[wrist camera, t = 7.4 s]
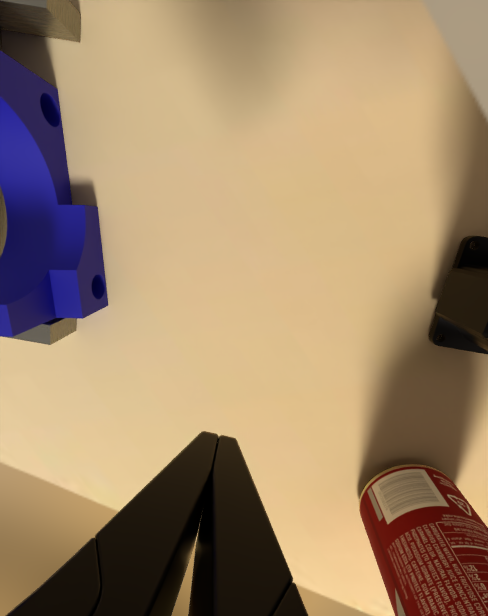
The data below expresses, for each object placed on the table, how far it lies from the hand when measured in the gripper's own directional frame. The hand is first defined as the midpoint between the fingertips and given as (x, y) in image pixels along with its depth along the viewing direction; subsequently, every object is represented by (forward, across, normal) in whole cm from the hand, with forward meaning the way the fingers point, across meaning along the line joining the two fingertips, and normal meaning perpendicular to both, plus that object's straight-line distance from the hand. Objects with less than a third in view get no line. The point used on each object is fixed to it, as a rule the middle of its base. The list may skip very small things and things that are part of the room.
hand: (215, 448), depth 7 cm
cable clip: (+12, +12, -4) cm, 18 cm away
